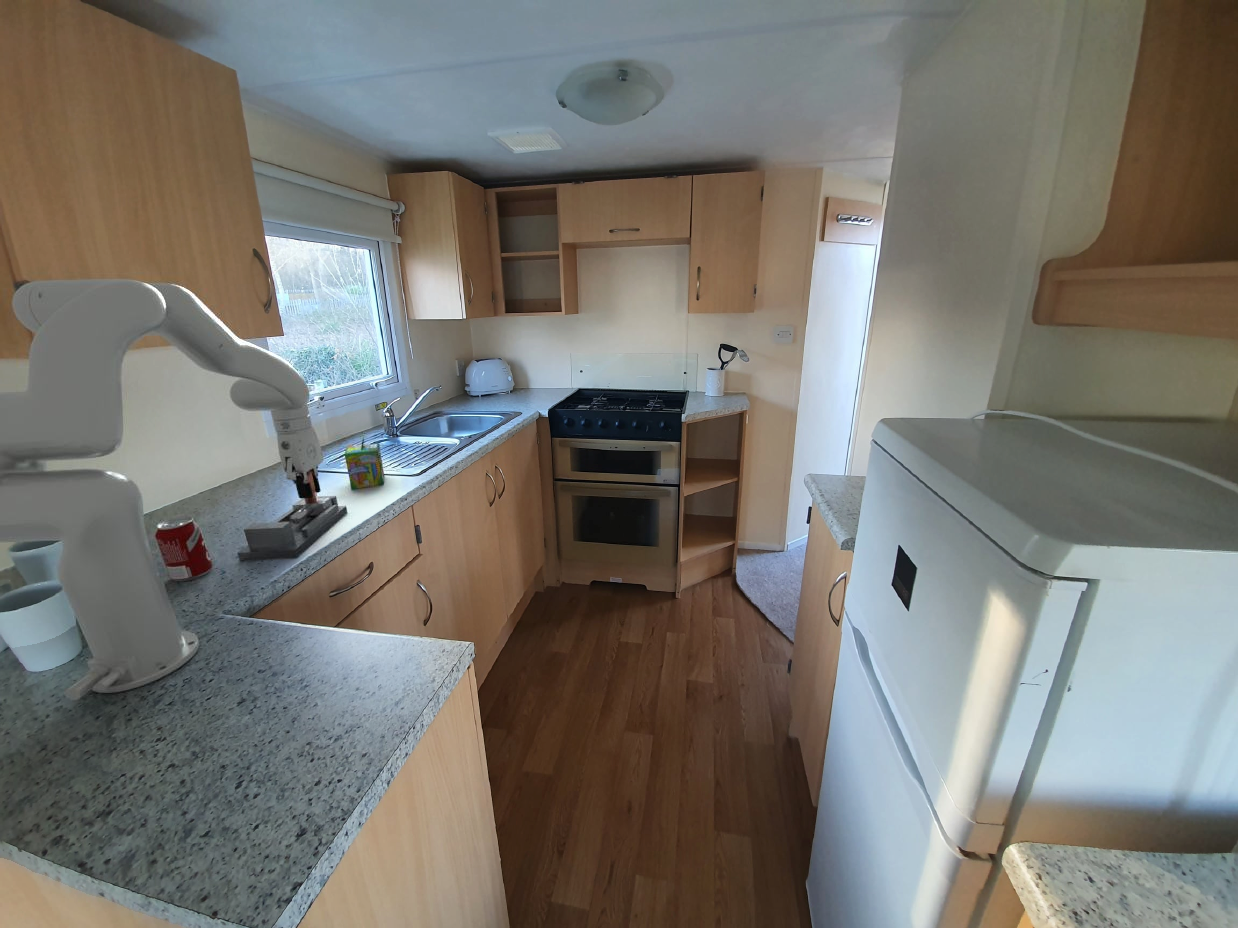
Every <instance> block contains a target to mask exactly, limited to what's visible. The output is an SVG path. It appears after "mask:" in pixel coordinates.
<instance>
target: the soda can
mask: <svg viewBox="0 0 1238 928" xmlns="http://www.w3.org/2000/svg"><path fill="white" fill-rule="evenodd" d="M155 528H156V529H157V530H156V532H155V535H154V538H155V540H156V543H157V545H158V549H159V551H160V554H161V557H162V560H163V562H164V566H165V568H166V570H167V573H168V577H169V578H170V580H171V581H173V582H189V581H190V582H191V581H193V580H196V579H199V578H201V577H203V576H205V575H207V573H209V572H211V570H212V569H213V563H212V559H211V556H210V554H209V553H210V552H209V550H208V547H207V544H206V541H205V537H204V534H203V532H202V529H201V526H200V524H199V523H198V522H196V521H194V518H193V517H192V516H178V517H175V518H169V519H166V520H164V521H161V522H160V523H157V525H156V527H155Z"/></svg>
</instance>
